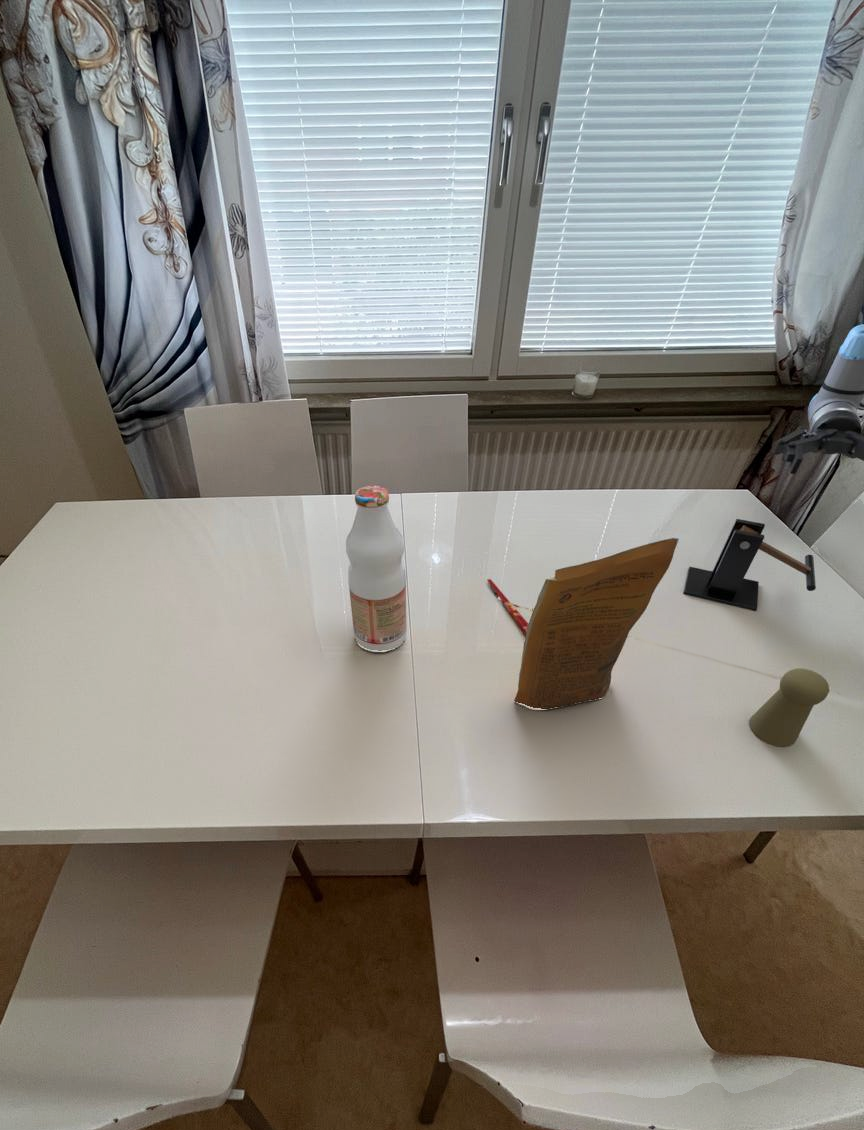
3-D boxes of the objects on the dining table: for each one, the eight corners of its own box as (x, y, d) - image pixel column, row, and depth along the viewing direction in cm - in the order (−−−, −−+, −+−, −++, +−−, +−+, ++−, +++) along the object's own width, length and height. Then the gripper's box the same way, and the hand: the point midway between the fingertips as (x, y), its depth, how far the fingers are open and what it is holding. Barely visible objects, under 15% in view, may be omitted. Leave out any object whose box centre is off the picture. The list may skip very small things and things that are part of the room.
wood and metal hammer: (806, 563, 95) (818, 554, 93) (808, 594, 89) (821, 585, 87) (734, 524, 97) (744, 514, 95) (731, 552, 91) (742, 542, 89)
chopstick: (491, 580, 106) (491, 576, 105) (555, 660, 89) (556, 656, 88) (482, 582, 106) (482, 578, 105) (545, 662, 89) (545, 658, 88)
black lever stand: (755, 586, 101) (790, 523, 92) (754, 614, 96) (791, 549, 86) (687, 571, 106) (713, 509, 96) (681, 596, 100) (709, 532, 91)
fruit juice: (346, 648, 93) (328, 503, 75) (365, 615, 100) (353, 474, 81) (397, 659, 91) (391, 512, 72) (413, 625, 97) (412, 482, 78)
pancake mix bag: (633, 702, 82) (698, 547, 63) (516, 726, 79) (548, 573, 60) (610, 672, 87) (664, 519, 68) (499, 693, 84) (524, 542, 65)
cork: (739, 719, 79) (772, 667, 71) (772, 709, 80) (808, 657, 72) (772, 751, 74) (812, 700, 67) (807, 740, 75) (849, 688, 68)
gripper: (901, 458, 103) (919, 508, 89) (754, 438, 112) (750, 480, 99) (926, 418, 98) (949, 465, 84) (770, 401, 107) (769, 440, 93)
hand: (842, 473), depth 91 cm, fingers open, 13 cm apart
